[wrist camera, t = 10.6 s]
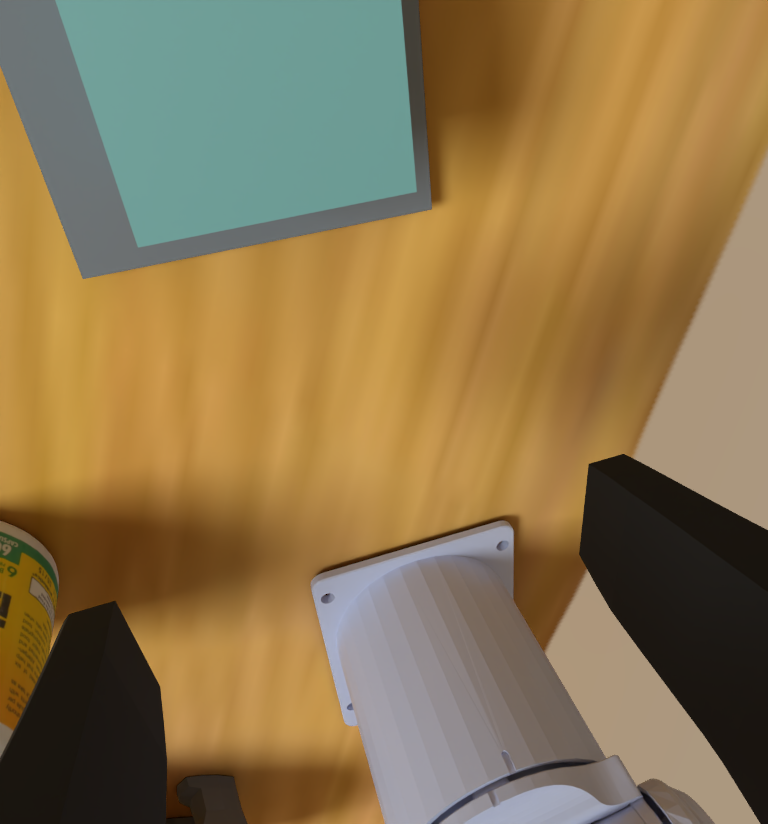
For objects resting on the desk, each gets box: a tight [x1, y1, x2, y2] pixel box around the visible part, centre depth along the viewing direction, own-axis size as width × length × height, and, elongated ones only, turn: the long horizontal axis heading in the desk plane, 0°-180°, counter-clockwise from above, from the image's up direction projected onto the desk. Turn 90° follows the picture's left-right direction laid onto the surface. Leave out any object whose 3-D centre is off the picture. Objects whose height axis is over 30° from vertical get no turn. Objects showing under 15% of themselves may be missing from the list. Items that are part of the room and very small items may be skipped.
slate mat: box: [0, 0, 432, 279], centre depth 14 cm, size 9×9×1 cm
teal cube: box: [55, 0, 417, 248], centre depth 12 cm, size 5×5×5 cm
